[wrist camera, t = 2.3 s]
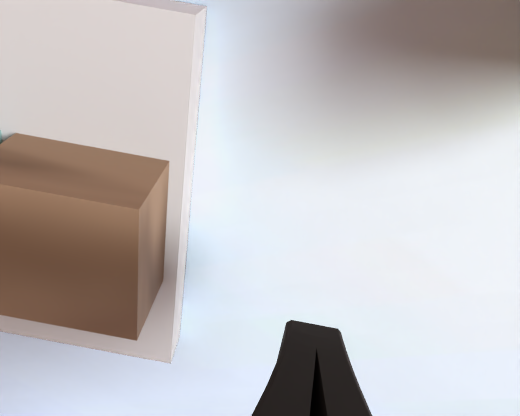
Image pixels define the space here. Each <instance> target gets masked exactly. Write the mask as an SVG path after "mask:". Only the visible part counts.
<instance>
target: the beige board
mask: <svg viewBox="0 0 520 416" xmlns="http://www.w3.org/2000/svg"><path fill="white" fill-rule="evenodd" d="M206 12H207V6H202V5H196V4H191V3H185V2H180V1H174V0H0V130H1V134H2V141H3V142H4V141H5V140H7V139H8V138H10V137H11V136H12V135H14V134H15V133H19V134H25V135H30V136H36V137H41V138H47V139H52V140H58V141H63V142H69V143H74V144H79V145H85V146H90V147H96V148H101V149H107V150H112V151H118V152H123V153H129V154H134V155H140V156H145V157H151V158H156V159H161V160H167V161H170V162H169V181H168V200H167V219H166V238H165V257H164V276H163V282H162V285H161V287H160V289H159V291H158V294H157V296H156V298H155V301H154V303H153V305H152V307H151V310H150V312H149V314H148V317H147V319H146V321H145V324H144V326H143V328H142V330H141V333H140V335H139V337H138V340H137V341H136V340H130V339H125V338H120V337H114V336H109V335H104V334H99V333H93V332H88V331H83V330H77V329H72V328H67V327H61V326H56V325H51V324H46V323H40V322H35V321H30V320H24V319H19V318H14V317H9V316H3V315H0V331H2V332H7V333H12V334H17V335H23V336H28V337H33V338H38V339H44V340H49V341H54V342H60V343H65V344H70V345H75V346H81V347H86V348H91V349H97V350H102V351H107V352H112V353H118V354H123V355H128V356H133V357H139V358H144V359H149V360H155V361H160V362H165V363H170V364H171V361H172V358H173V355H174V352H175V349H176V346H177V343H178V340H179V337H180V326H181V314H182V302H183V290H184V278H185V266H186V254H187V241H188V229H189V217H190V205H191V193H192V181H193V169H194V157H195V145H196V133H197V121H198V109H199V97H200V85H201V72H202V60H203V48H204V36H205V24H206Z"/></svg>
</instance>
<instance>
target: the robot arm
mask: <svg viewBox="0 0 520 416" xmlns="http://www.w3.org/2000/svg"><path fill="white" fill-rule="evenodd" d="M252 416H372V414H371V412H370V410H369V408H368V405H367V403H366V401H365V398H364V396H363V394H362V391H361V389H360V387H359V384H358V382H357V379H356V377H355V374H354V371H353V368H352V366H351V363H350V360H349V357H348V354H347V351H346V348H345V345H344V342H343V339H342V335H341V332H340V331H339V330H338V329H336V328H331V327H325V326H320V325H315V324H309V323H304V322H299V321H294V320H291V321H289V322H286V326H285V331H284V335H283V339H282V343H281V347H280V351H279V355H278V359H277V363H276V365H275V368H274V370H273V372H272V375H271V377H270V379H269V382H268V384H267V386H266V388H265V390H264V392H263V394H262V396H261V398H260V400H259V402H258V404H257V406H256V408H255V410H254V412H253V414H252Z"/></svg>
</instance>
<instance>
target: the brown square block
mask: <svg viewBox="0 0 520 416" xmlns="http://www.w3.org/2000/svg"><path fill="white" fill-rule="evenodd" d="M169 162H170V161H167V160H161V159H156V158H151V157H145V156H140V155H134V154H129V153H123V152H118V151H112V150H107V149H101V148H96V147H90V146H85V145H79V144H74V143H69V142H63V141H58V140H52V139H47V138H41V137H36V136H30V135H25V134H19V133H15V134H14V135H12V136H11V137H10V138H8V139H7V140H5V141H4V142H2V143H1V144H0V315H3V316H9V317H14V318H19V319H24V320H30V321H35V322H40V323H46V324H51V325H56V326H61V327H67V328H72V329H77V330H83V331H88V332H93V333H99V334H104V335H109V336H114V337H120V338H125V339H130V340H136V341H137V340H138V337H139V335H140V333H141V330H142V328H143V326H144V324H145V321H146V319H147V317H148V314H149V312H150V310H151V307H152V305H153V303H154V301H155V298H156V296H157V294H158V291H159V289H160V287H161V285H162V282H163V276H164V257H165V238H166V219H167V200H168V181H169Z"/></svg>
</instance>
